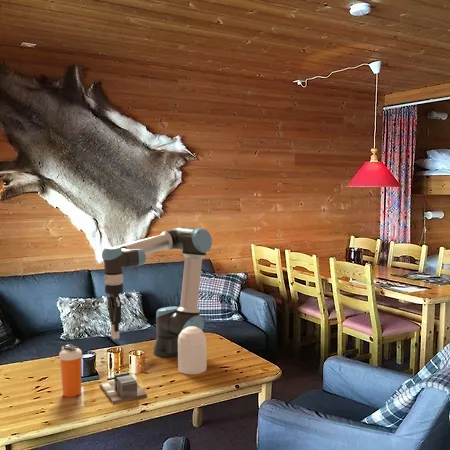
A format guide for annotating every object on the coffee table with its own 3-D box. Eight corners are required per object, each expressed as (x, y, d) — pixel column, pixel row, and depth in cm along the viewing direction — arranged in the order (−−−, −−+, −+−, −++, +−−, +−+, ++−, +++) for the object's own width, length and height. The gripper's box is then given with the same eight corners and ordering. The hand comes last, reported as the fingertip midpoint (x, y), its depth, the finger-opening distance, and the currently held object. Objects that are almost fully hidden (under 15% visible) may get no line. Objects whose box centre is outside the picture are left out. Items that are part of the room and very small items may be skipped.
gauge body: (99, 386, 216) (99, 369, 215) (131, 379, 223) (131, 364, 222) (112, 404, 198) (112, 386, 198) (146, 396, 205) (146, 379, 204)
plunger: (106, 389, 208) (106, 375, 208) (128, 385, 213) (128, 371, 212) (113, 398, 200) (112, 383, 200) (135, 393, 205) (135, 379, 204)
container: (172, 368, 236) (171, 326, 234) (194, 361, 245) (194, 321, 243) (189, 376, 226) (188, 332, 224) (212, 369, 235) (212, 327, 233)
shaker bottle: (70, 400, 202) (69, 351, 201) (55, 395, 207) (54, 347, 205) (87, 392, 210) (86, 345, 208) (73, 387, 215) (71, 341, 213)
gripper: (100, 281, 219) (102, 334, 221) (109, 287, 206) (111, 343, 208) (117, 279, 223) (118, 332, 225) (127, 285, 210) (129, 341, 212)
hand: (115, 337), depth 217 cm, fingers open, 1 cm apart
